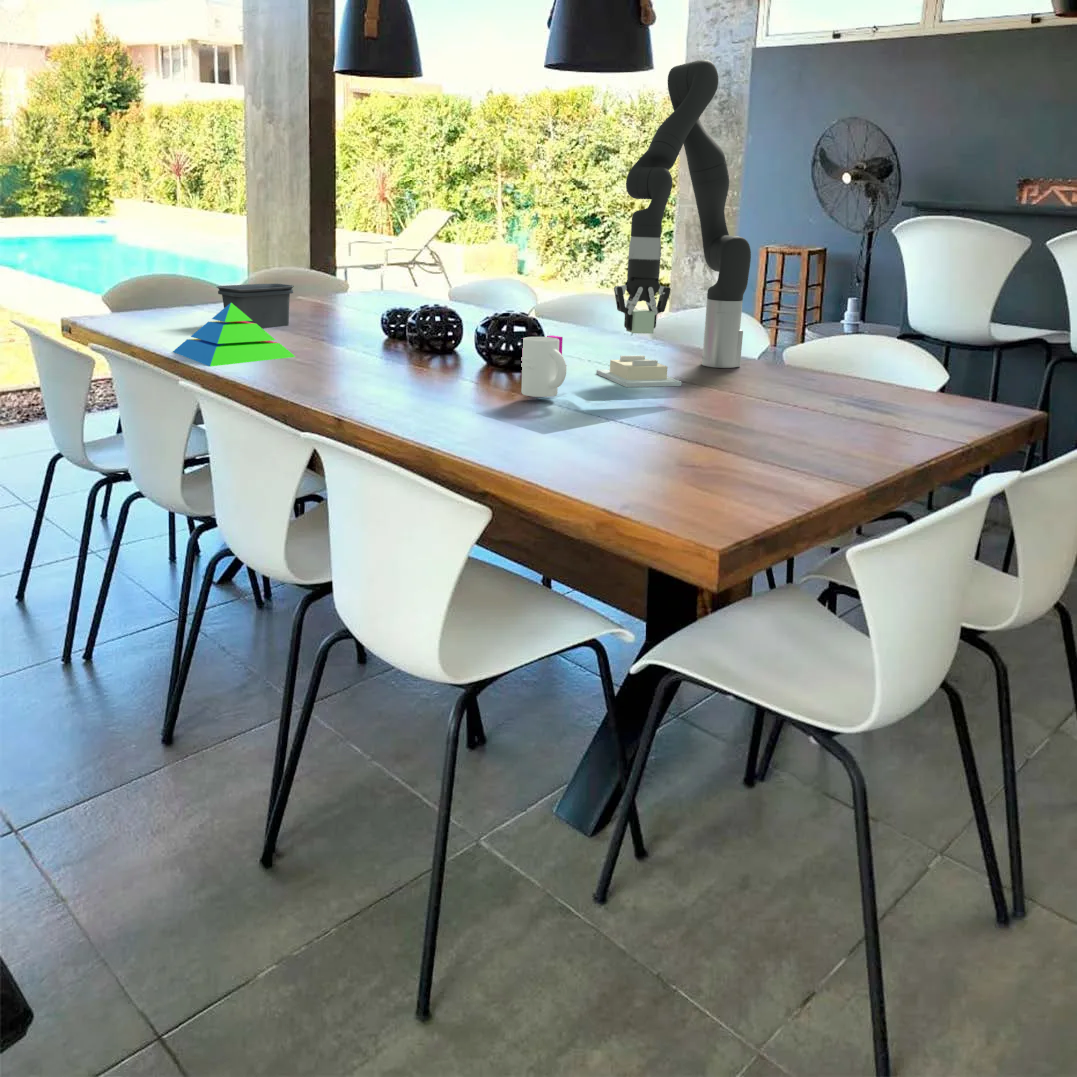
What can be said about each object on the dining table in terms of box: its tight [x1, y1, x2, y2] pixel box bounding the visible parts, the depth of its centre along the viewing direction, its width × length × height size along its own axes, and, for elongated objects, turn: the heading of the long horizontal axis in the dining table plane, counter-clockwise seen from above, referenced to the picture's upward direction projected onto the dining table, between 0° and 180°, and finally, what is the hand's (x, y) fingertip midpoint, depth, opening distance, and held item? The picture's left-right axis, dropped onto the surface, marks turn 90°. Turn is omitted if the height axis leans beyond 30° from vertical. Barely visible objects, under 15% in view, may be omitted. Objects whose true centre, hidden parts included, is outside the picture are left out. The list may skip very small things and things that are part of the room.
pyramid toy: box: [172, 303, 296, 367], centre depth 268 cm, size 25×25×14 cm
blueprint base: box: [595, 354, 682, 388], centre depth 251 cm, size 14×20×5 cm
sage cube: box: [626, 309, 655, 334], centre depth 248 cm, size 5×5×5 cm
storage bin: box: [216, 283, 294, 329], centre depth 314 cm, size 21×16×14 cm
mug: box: [521, 336, 567, 398], centre depth 225 cm, size 8×12×12 cm
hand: (639, 330), depth 248 cm, fingers closed on sage cube, 5 cm apart
